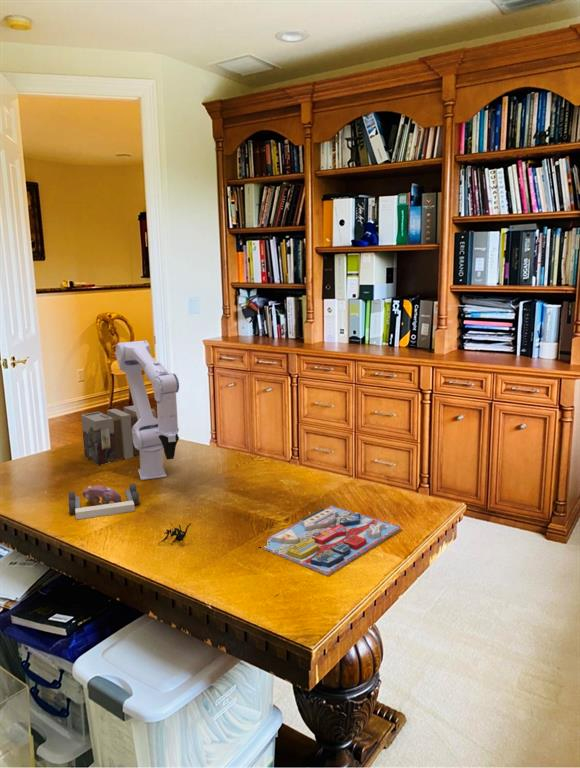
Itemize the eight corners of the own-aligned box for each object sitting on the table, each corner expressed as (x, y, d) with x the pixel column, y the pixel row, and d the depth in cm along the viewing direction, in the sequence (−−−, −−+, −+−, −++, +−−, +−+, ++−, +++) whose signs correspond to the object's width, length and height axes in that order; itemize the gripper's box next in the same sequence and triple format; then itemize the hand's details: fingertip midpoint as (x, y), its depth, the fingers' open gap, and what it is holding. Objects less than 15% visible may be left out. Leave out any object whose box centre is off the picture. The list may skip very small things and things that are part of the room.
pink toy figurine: (85, 508, 176) (77, 491, 172) (92, 496, 179) (85, 479, 175) (117, 510, 174) (109, 494, 169) (123, 498, 177) (116, 481, 173)
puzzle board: (330, 509, 170) (330, 500, 170) (402, 532, 155) (402, 522, 155) (253, 548, 148) (252, 538, 148) (327, 579, 133) (327, 568, 133)
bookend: (163, 452, 221) (160, 408, 218) (96, 468, 205) (92, 421, 202) (143, 442, 233) (140, 401, 230) (78, 456, 217) (74, 412, 214)
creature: (153, 546, 151) (171, 549, 145) (149, 525, 151) (166, 527, 145) (179, 535, 156) (197, 538, 151) (175, 515, 156) (193, 517, 151)
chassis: (69, 502, 176) (68, 490, 175) (135, 493, 182) (134, 481, 182) (69, 520, 164) (68, 508, 163) (140, 510, 170) (139, 498, 169)
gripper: (150, 410, 187) (153, 453, 189) (156, 422, 173) (159, 467, 176) (173, 408, 189) (176, 450, 192) (181, 419, 176) (184, 464, 178)
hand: (169, 458), depth 184 cm, fingers closed
